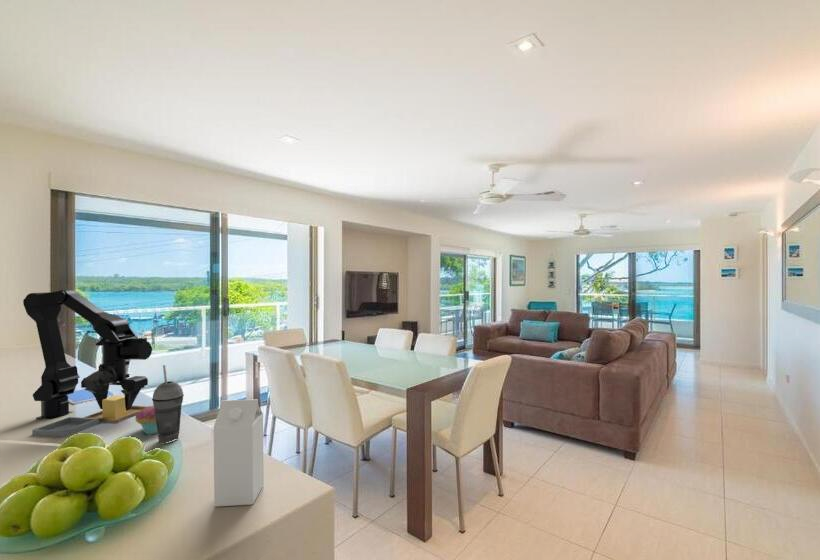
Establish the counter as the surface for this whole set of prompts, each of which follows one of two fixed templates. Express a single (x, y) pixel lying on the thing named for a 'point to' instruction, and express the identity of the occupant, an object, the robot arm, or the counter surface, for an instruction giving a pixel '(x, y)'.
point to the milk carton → (238, 453)
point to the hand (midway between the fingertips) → (115, 409)
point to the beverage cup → (168, 409)
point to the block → (114, 407)
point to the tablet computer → (83, 396)
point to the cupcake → (147, 420)
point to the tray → (132, 412)
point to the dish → (65, 427)
